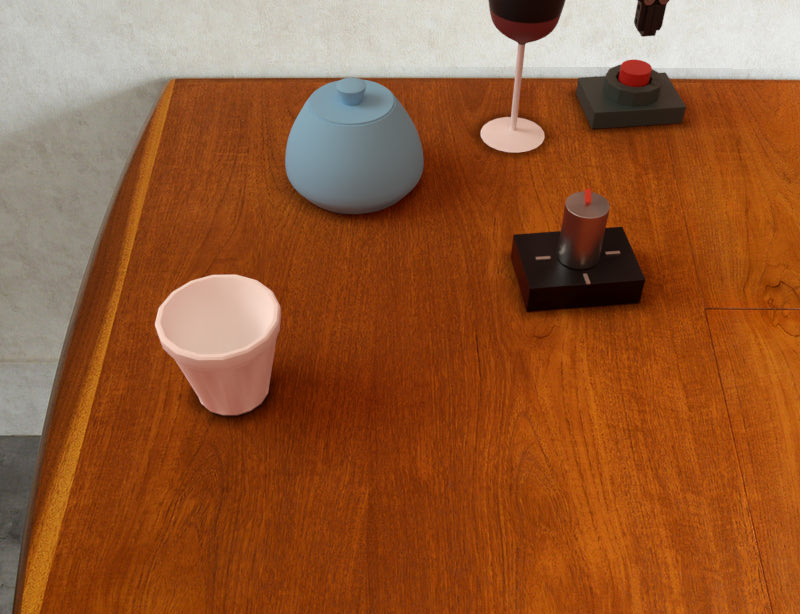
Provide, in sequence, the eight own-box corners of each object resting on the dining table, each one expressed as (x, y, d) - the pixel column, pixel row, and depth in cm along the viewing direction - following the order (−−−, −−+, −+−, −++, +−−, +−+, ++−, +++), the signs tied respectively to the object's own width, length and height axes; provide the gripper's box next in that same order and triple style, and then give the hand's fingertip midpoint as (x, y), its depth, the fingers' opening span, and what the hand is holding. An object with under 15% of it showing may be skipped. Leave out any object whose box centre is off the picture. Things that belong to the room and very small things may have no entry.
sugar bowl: (439, 210, 95) (443, 112, 87) (300, 232, 93) (289, 133, 84) (404, 134, 105) (404, 39, 96) (277, 152, 102) (266, 56, 94)
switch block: (661, 88, 111) (669, 58, 108) (682, 123, 106) (690, 92, 103) (575, 93, 111) (580, 63, 108) (591, 129, 105) (597, 98, 102)
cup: (283, 342, 82) (272, 265, 75) (298, 424, 76) (288, 348, 69) (173, 359, 81) (152, 282, 74) (179, 444, 74) (156, 368, 67)
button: (643, 72, 107) (646, 58, 106) (652, 87, 105) (655, 73, 103) (614, 74, 107) (617, 60, 105) (622, 89, 104) (625, 75, 103)
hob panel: (616, 249, 91) (622, 224, 89) (639, 304, 86) (646, 278, 83) (510, 257, 90) (513, 232, 88) (526, 312, 85) (530, 287, 82)
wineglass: (532, 161, 101) (554, -17, 86) (463, 140, 104) (473, -36, 89) (560, 128, 106) (586, -47, 91) (493, 108, 108) (508, -65, 93)
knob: (599, 271, 84) (611, 217, 79) (556, 267, 84) (565, 213, 80) (598, 244, 87) (610, 190, 82) (557, 241, 87) (566, 186, 82)
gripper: (624, -119, 86) (597, 53, 99) (758, -126, 87) (713, 45, 100) (605, -146, 91) (581, 21, 104) (732, -152, 91) (692, 14, 105)
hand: (646, 32), depth 102 cm, fingers closed
